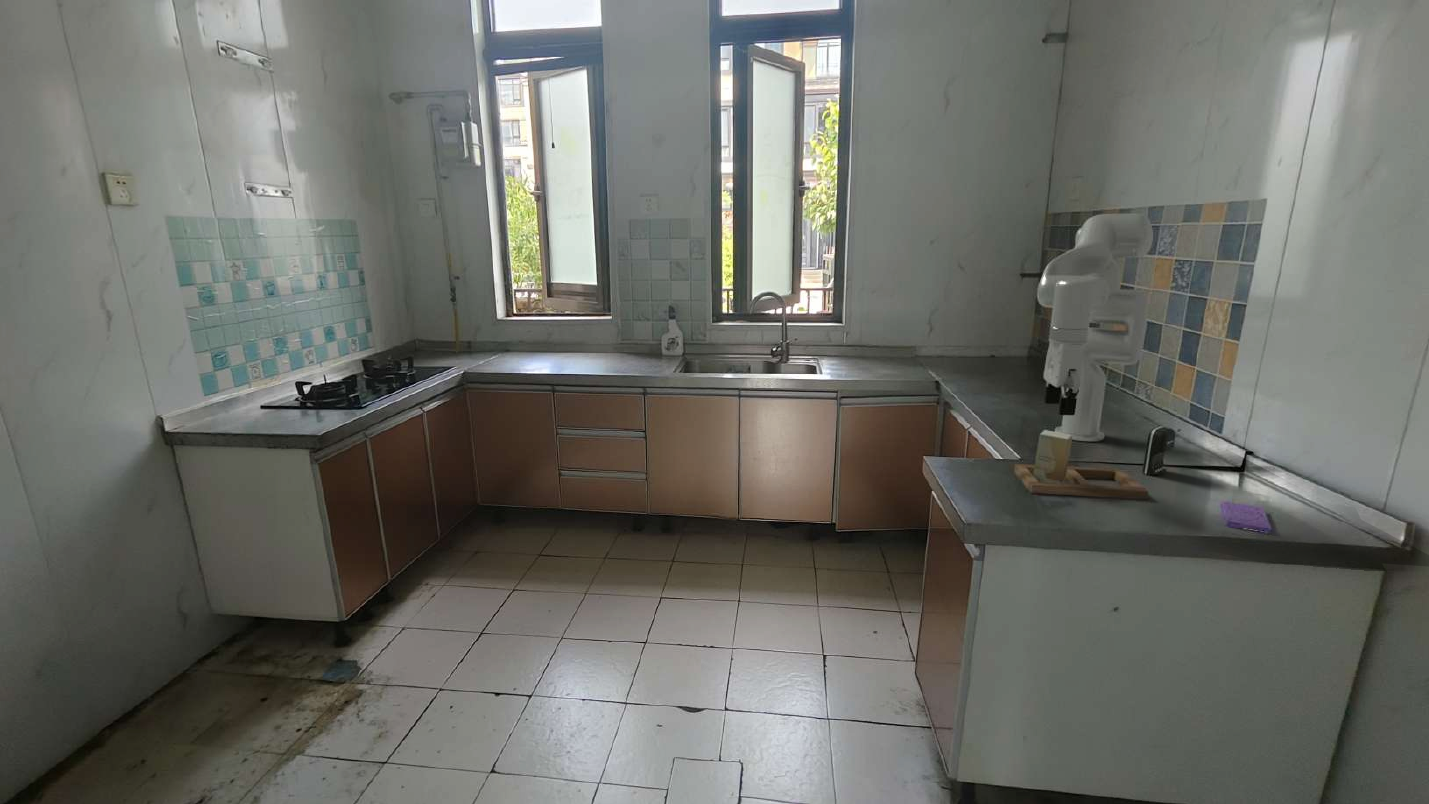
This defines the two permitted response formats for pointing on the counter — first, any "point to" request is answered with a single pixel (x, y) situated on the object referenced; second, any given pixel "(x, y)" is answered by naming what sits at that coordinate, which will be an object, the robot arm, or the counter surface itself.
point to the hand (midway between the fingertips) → (1058, 409)
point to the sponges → (1245, 516)
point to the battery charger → (1157, 449)
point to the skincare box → (1052, 457)
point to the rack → (1083, 483)
